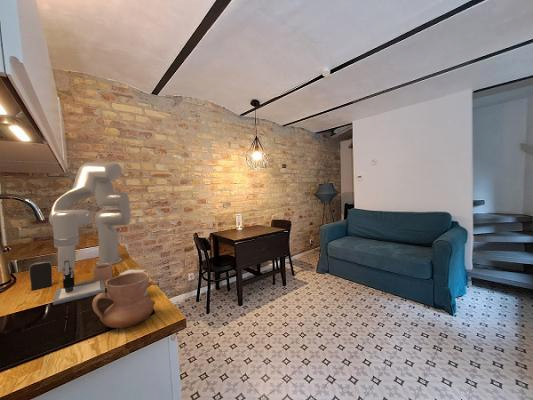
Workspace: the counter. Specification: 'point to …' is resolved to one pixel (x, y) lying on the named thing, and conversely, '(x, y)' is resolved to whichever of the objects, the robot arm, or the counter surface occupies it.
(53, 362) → the counter surface
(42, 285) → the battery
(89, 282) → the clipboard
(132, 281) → the ceramic jug
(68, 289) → the marker
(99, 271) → the pen cup
